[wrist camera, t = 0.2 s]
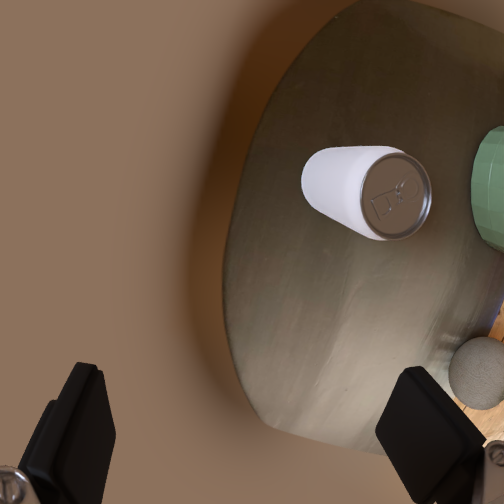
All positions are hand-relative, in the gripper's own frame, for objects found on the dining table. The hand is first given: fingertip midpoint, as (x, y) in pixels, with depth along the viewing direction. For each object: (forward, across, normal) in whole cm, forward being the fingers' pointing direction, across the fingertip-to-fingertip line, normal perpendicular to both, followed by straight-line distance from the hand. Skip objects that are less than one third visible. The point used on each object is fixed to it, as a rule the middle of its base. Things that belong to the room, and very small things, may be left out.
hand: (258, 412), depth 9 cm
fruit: (+22, -38, +16) cm, 47 cm away
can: (+22, -10, -6) cm, 25 cm away
